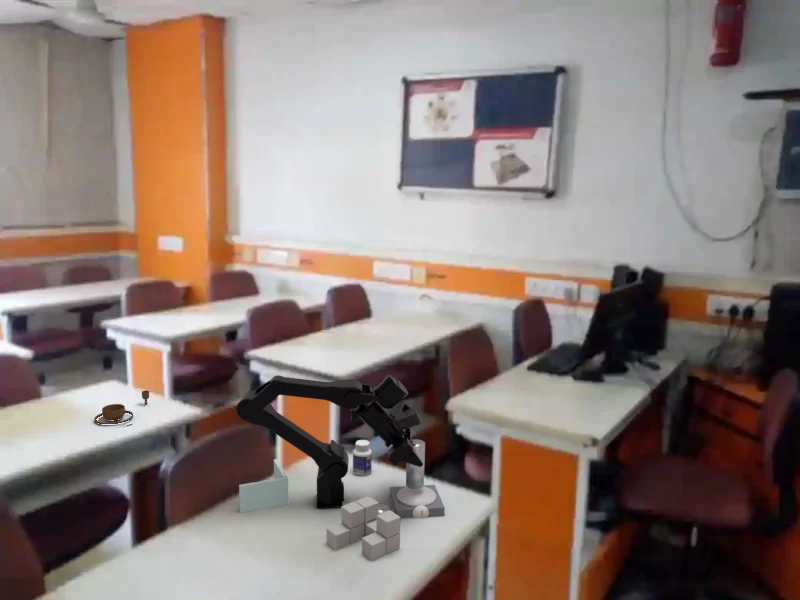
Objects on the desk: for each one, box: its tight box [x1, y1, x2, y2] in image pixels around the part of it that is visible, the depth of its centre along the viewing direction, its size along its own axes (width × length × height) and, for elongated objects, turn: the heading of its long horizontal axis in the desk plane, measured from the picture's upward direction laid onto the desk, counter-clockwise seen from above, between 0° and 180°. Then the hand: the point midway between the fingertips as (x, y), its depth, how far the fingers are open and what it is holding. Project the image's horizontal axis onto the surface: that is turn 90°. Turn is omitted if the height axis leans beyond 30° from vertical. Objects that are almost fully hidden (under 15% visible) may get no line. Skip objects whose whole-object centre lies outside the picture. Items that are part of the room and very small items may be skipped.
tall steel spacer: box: [405, 438, 426, 489], centre depth 165 cm, size 5×5×12 cm
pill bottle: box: [352, 439, 373, 477], centre depth 182 cm, size 5×5×9 cm
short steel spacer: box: [378, 503, 390, 515], centre depth 158 cm, size 4×4×3 cm
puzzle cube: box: [326, 496, 401, 562], centre depth 146 cm, size 12×12×8 cm
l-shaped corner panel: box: [238, 458, 289, 514], centre depth 167 cm, size 12×12×8 cm
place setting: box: [93, 390, 150, 424], centre depth 219 cm, size 18×20×6 cm
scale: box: [389, 484, 446, 519], centre depth 165 cm, size 12×12×4 cm
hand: (421, 461), depth 165 cm, fingers closed on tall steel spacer, 5 cm apart
